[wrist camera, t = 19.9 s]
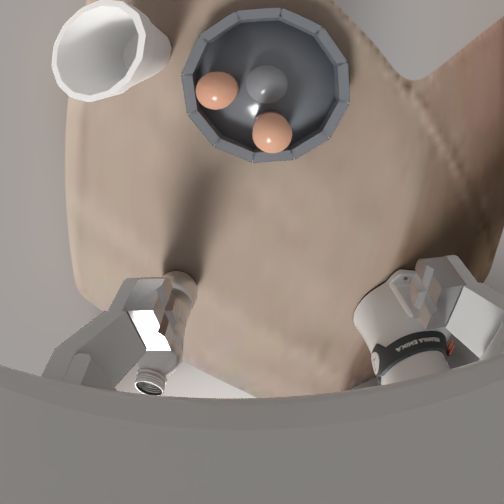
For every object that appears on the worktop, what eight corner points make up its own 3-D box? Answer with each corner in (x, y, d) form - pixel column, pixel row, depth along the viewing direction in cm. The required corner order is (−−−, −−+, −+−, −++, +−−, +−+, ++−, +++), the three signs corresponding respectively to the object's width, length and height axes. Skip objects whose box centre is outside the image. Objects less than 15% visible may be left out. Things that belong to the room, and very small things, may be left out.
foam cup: (118, 20, 25) (59, 8, 14) (189, 18, 26) (153, -7, 15) (110, 89, 30) (50, 104, 20) (178, 90, 31) (138, 102, 20)
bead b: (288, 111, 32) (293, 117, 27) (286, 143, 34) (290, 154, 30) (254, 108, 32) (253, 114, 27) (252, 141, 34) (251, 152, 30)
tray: (336, 13, 25) (342, 9, 22) (343, 151, 35) (350, 158, 32) (181, 24, 26) (174, 21, 24) (200, 161, 36) (196, 168, 34)
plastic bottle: (165, 296, 49) (134, 399, 33) (157, 264, 46) (114, 370, 29) (202, 297, 49) (181, 404, 33) (196, 264, 45) (167, 376, 29)
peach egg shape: (202, 74, 29) (193, 74, 25) (237, 70, 29) (234, 69, 25) (206, 106, 31) (198, 111, 27) (240, 102, 31) (238, 107, 27)
